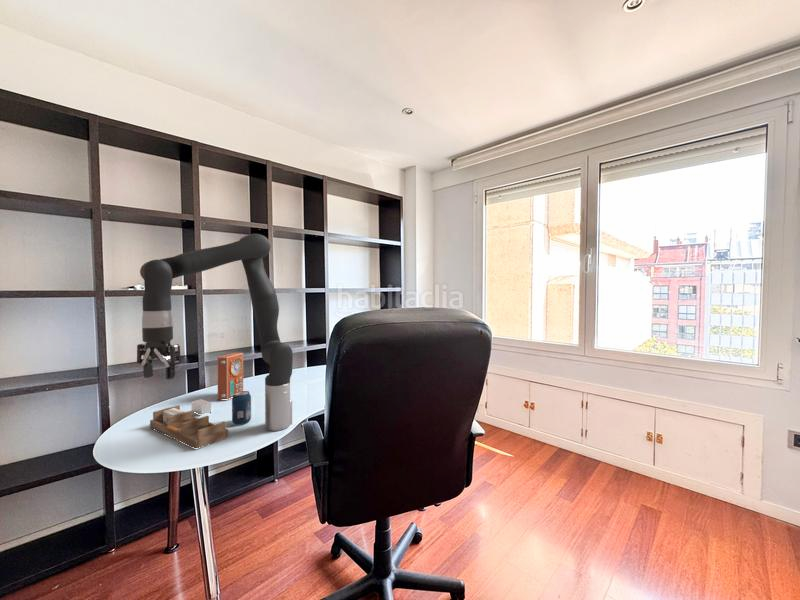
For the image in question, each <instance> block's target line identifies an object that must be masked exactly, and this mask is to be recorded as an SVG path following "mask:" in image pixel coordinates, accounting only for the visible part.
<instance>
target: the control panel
mask: <svg viewBox="0 0 800 600" xmlns="http://www.w3.org/2000/svg"><path fill="white" fill-rule="evenodd" d="M240 391H244V353H243V352H231V353H228V354H227V353H226V354H224V355H220V356H218V357H217V400H218V399H229V398H231V397H233V396H234V393H236V392H240Z"/></svg>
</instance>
